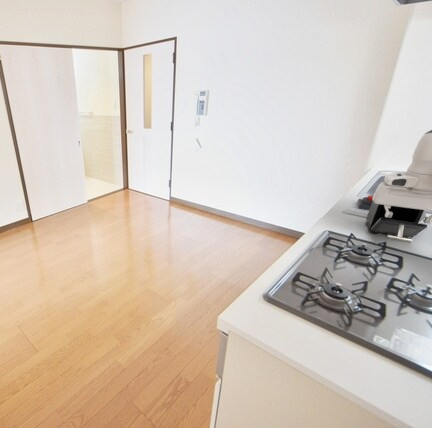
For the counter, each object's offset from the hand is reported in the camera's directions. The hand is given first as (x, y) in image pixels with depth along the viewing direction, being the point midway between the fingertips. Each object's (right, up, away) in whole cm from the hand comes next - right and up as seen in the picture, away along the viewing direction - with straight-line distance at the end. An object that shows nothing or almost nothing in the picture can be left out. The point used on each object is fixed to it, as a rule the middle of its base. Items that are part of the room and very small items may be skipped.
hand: (406, 219), depth 94 cm
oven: (+10, -5, +17) cm, 21 cm away
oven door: (+5, -8, +11) cm, 14 cm away
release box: (+21, +5, +37) cm, 43 cm away
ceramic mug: (+23, -1, +24) cm, 33 cm away
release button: (+21, +8, +36) cm, 42 cm away
